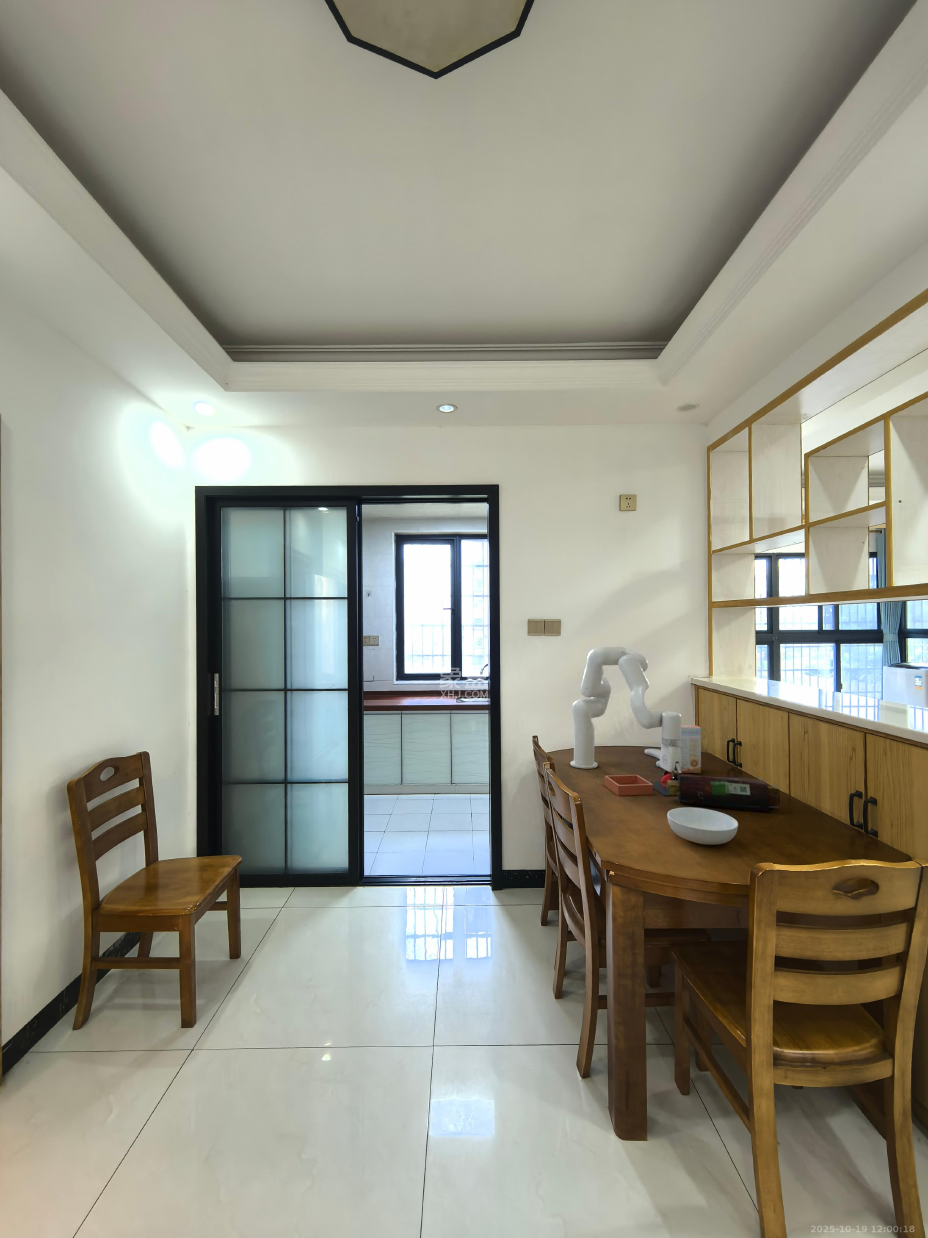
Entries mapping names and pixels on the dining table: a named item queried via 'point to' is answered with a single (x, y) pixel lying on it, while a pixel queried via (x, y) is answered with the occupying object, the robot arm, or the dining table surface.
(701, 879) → the dining table surface
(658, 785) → the mat
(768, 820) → the dining table surface
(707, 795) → the packaged item
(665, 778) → the cap
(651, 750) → the holder
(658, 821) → the dining table surface
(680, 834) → the serving bowl
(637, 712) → the robot arm
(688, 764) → the cracker box
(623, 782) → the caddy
